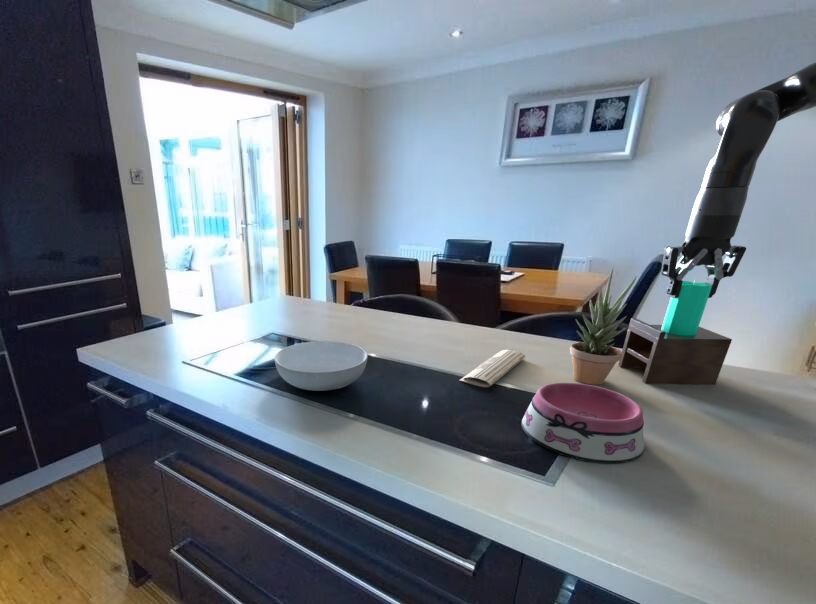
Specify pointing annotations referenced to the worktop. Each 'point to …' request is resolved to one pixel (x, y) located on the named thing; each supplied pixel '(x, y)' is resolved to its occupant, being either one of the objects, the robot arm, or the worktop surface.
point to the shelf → (674, 354)
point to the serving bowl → (321, 364)
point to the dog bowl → (585, 423)
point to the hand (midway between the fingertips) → (689, 296)
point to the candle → (686, 309)
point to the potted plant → (598, 340)
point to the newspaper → (493, 368)
